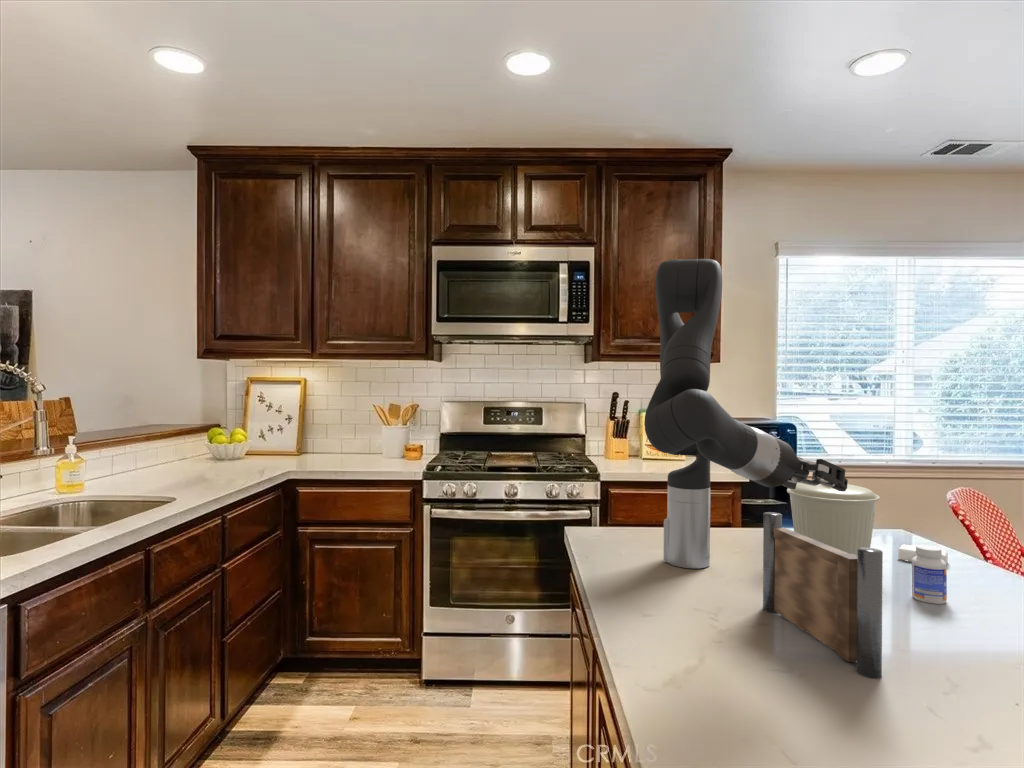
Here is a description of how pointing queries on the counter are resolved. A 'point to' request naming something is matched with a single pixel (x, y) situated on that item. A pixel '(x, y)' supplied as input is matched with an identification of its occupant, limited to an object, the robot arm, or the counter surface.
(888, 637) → the counter surface
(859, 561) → the gate posts
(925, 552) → the pill bottle
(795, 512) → the canister
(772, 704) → the counter surface
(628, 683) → the counter surface
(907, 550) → the soap
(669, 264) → the robot arm
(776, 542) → the gate leaf
